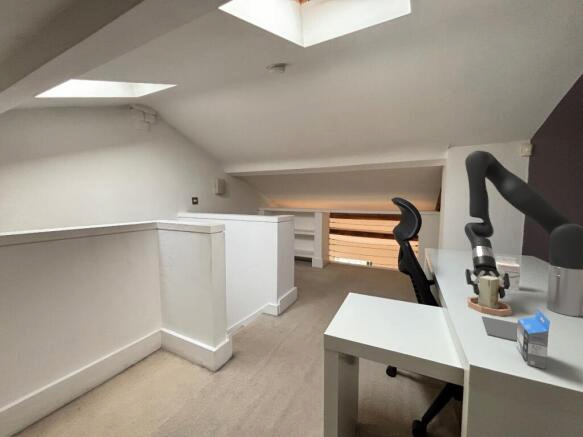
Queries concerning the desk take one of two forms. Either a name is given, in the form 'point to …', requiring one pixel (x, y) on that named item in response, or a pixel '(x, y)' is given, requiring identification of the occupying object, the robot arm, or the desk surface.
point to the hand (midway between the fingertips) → (489, 295)
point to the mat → (501, 328)
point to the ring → (501, 312)
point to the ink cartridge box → (509, 270)
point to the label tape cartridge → (533, 340)
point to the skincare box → (488, 292)
